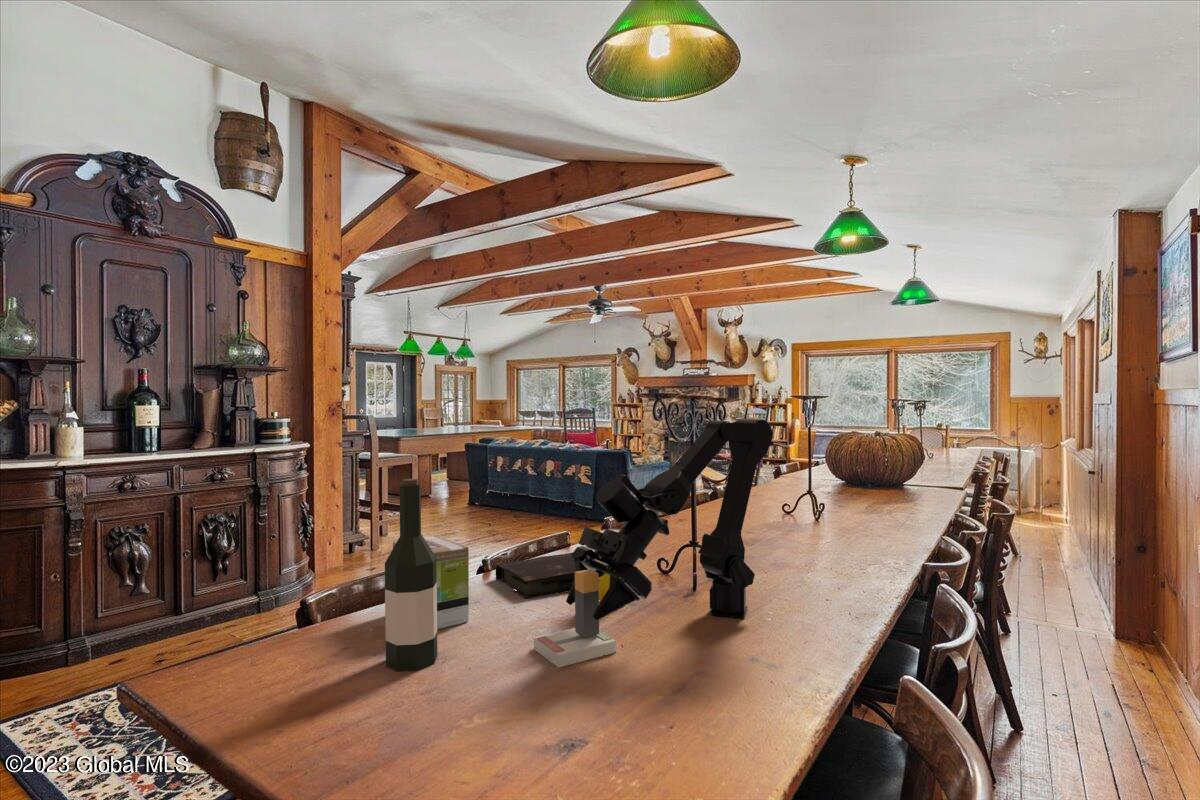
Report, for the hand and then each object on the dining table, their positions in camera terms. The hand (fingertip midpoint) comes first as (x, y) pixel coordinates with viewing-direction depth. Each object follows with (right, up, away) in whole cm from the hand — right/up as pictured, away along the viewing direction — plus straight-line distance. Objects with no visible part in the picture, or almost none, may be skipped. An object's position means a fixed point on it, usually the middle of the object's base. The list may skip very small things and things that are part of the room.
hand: (580, 610), depth 110 cm
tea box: (-30, -7, +17) cm, 35 cm away
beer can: (+6, -7, +25) cm, 26 cm away
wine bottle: (-28, -7, -4) cm, 29 cm away
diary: (-6, -7, +41) cm, 42 cm away
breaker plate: (-1, -7, -1) cm, 7 cm away
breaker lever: (+1, -4, +1) cm, 4 cm away
